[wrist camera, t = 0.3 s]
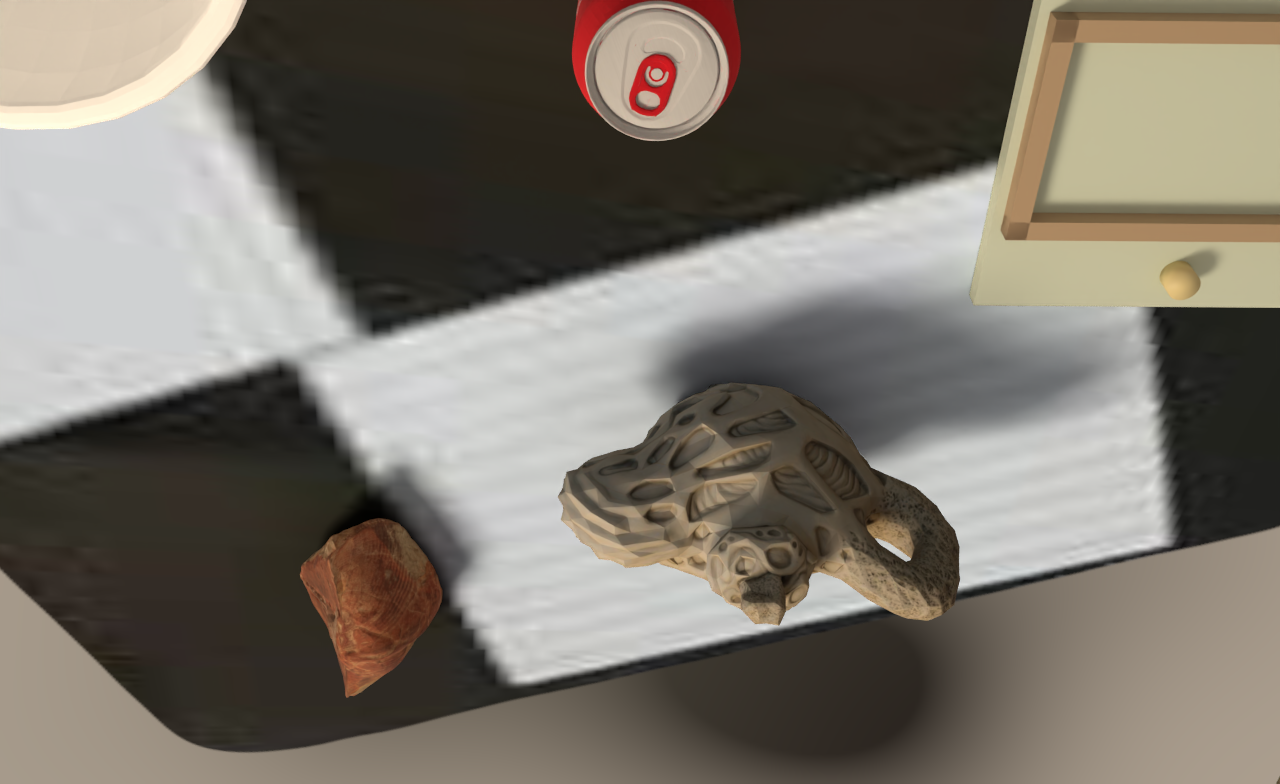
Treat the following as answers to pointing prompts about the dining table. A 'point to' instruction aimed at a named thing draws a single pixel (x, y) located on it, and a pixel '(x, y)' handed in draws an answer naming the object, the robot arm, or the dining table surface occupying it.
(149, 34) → the bowl
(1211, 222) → the mount board
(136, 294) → the dining table surface
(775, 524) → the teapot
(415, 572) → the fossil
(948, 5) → the dining table surface
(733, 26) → the beverage can
